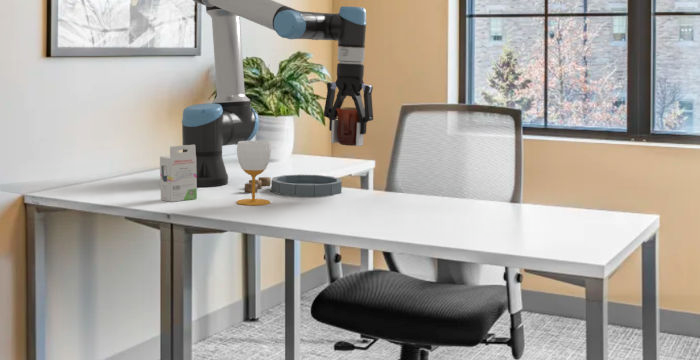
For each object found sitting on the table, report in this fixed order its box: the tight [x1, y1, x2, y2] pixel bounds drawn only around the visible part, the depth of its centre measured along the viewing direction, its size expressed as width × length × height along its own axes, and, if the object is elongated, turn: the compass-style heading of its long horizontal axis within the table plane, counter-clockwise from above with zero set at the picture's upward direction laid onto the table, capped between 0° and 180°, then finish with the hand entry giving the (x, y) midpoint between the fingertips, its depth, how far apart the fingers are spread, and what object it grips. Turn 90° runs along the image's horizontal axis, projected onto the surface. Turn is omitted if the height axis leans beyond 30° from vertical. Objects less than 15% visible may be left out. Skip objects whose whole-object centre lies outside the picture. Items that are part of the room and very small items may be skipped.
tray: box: [270, 174, 343, 198], centre depth 255 cm, size 20×20×3 cm
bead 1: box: [244, 182, 259, 194], centre depth 250 cm, size 4×4×2 cm
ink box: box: [159, 144, 198, 203], centre depth 235 cm, size 9×5×15 cm, turn 134°
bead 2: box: [248, 179, 262, 190], centre depth 257 cm, size 4×4×2 cm
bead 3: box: [257, 176, 272, 187], centre depth 263 cm, size 4×4×2 cm
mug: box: [336, 106, 365, 147], centre depth 249 cm, size 12×9×10 cm
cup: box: [235, 140, 272, 207], centre depth 233 cm, size 9×9×16 cm
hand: (346, 144), depth 251 cm, fingers closed on mug, 7 cm apart
